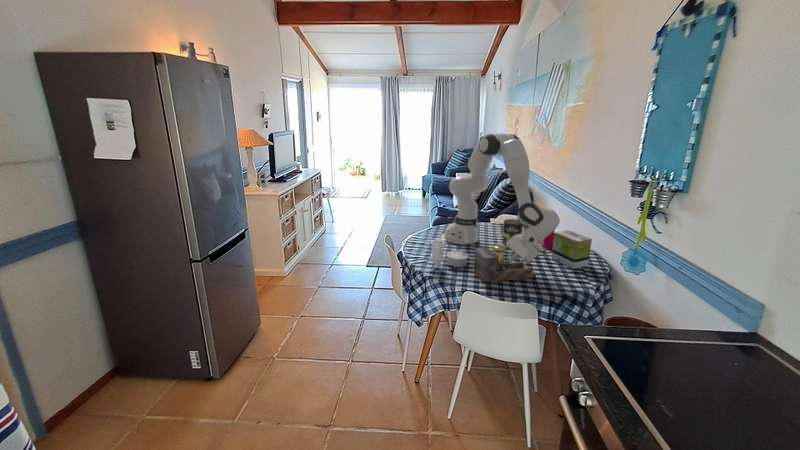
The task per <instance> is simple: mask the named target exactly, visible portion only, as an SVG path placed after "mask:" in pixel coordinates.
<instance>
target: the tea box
mask: <svg viewBox="0 0 800 450" xmlns="http://www.w3.org/2000/svg"><path fill="white" fill-rule="evenodd" d="M592 240H593V239H592V238H590V237H587V236H585V235H582V234H580V233H577V232H574V231H572V230H570V229H568V230H562V231H557V232H554V241H553V249H552V250H551V251H552V252H551V259H552V260H555V261H557V262H559V263H561V264H563V265H565V266H567V267H569V268H571V269H572V270H575V269H580V268H585V267H588V266H589V260H590V254H591V248H592Z"/></svg>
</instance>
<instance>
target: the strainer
mask: <svg viewBox="0 0 800 450" xmlns="http://www.w3.org/2000/svg"><path fill="white" fill-rule="evenodd" d="M430 245H431V246H432V247H431V248H432V249H431V254H430V259H431V260H433V261H434V266H435V267H437V268H439V267H442V266H441V263H442V261H444V260H445V259H446V254H445V253H444V251H445V249H444V247H446V241H445V239H441V238H439V239H437V238H435V239H431V240H430Z"/></svg>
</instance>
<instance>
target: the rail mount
mask: <svg viewBox="0 0 800 450" xmlns="http://www.w3.org/2000/svg"><path fill="white" fill-rule="evenodd" d="M473 266H474V267H473V268H474V273H475V275H476V276H477V278H479V280H480V281H481V282H482V283H485V282H495V281H496V282H497V281H498V282H499V281H506V280H507V281H510V280H521V279H523V280H524V279H534V278H535V279H536V277H537V274H536V272H534V271H533V269H532V268H530V267H528V265H526V264H525V263H524V261H517V262H506V263H505V262H504V265H503V267H505V268H506V269H507V270H506V271H496V269H497V256H495V255H494V254H493V252H492V250H491V249H489V248H488V247H479V248H474V264H473Z"/></svg>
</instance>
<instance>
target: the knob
mask: <svg viewBox="0 0 800 450" xmlns="http://www.w3.org/2000/svg"><path fill="white" fill-rule="evenodd" d="M492 250H493V252H492V253H493V254H494V255H495V256H497V269H496V271H506V270H507V269H506V268H505V267H503V265H504V263H505V252H506V250H507V247H506V246H504V245H502V244H493V245H492Z"/></svg>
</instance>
